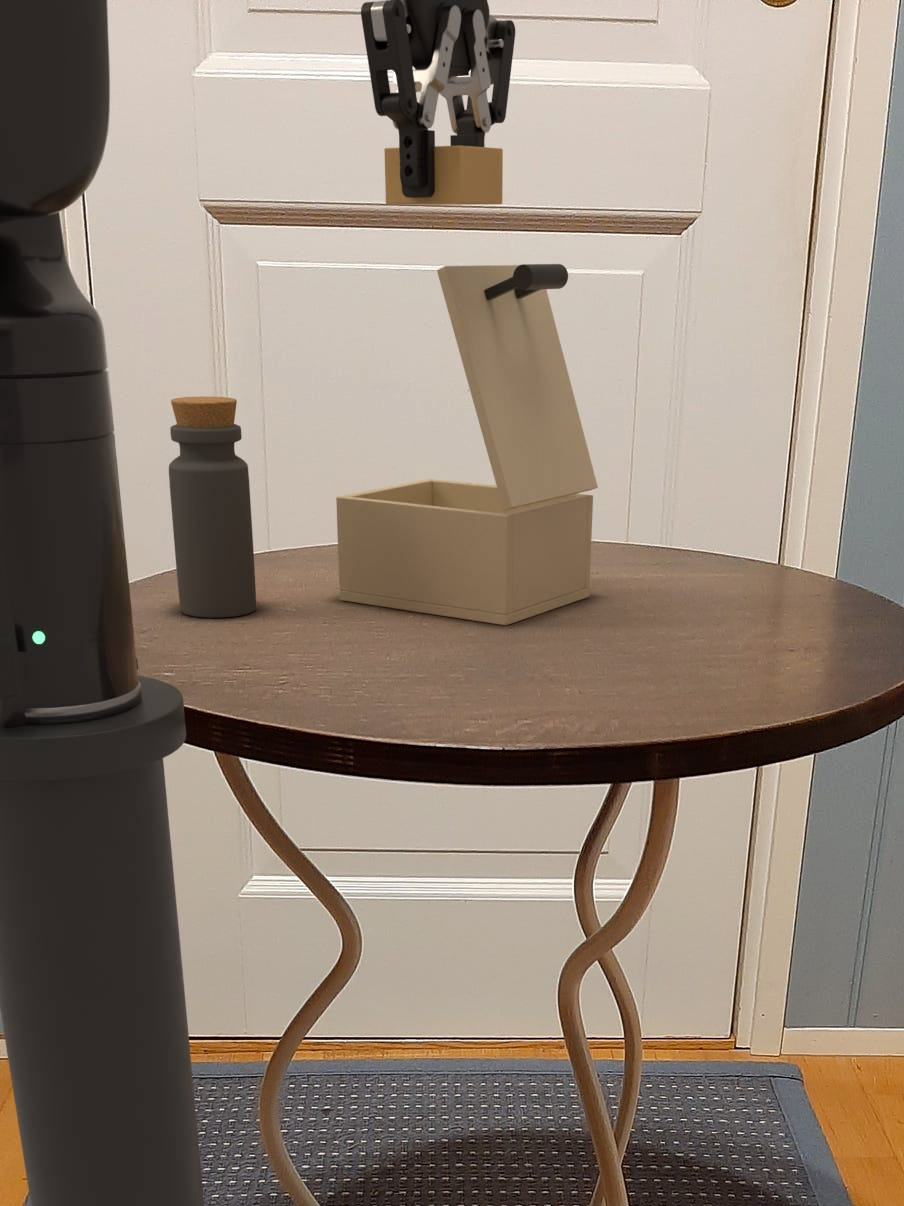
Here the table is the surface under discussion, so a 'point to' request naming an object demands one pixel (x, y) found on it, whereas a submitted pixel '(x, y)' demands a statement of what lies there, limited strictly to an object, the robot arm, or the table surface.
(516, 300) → the hinged handled lid
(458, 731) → the table surface
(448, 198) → the tan cardboard carton
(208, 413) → the bottle
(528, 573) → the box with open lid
